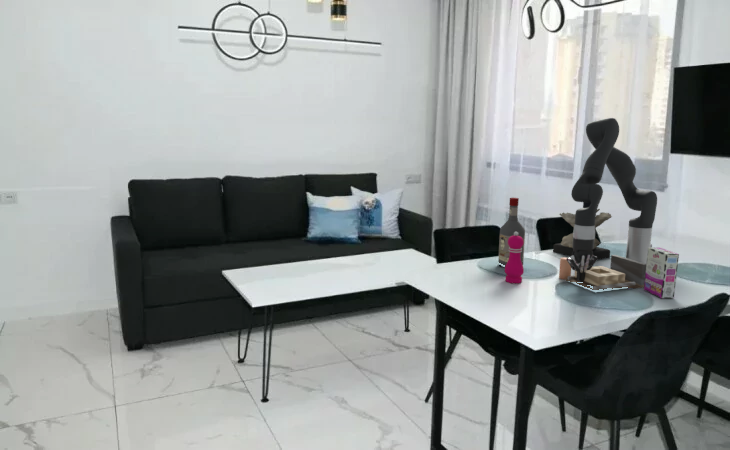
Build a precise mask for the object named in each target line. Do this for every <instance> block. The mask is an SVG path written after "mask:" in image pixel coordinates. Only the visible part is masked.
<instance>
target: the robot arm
mask: <svg viewBox="0 0 730 450" xmlns="http://www.w3.org/2000/svg"><path fill="white" fill-rule="evenodd" d="M585 133H586V136H587V139H588V140H589V142H590V144H591V145H592V147H593V148H594V151H592V152H591V154H590V155H589V156H588V157H587V159H586V160H585V162H584V166H583V169H582V173H581V174H580V176H579V178H578V179H577V180H576V182H575V183H574V185H573V186H572V189H571V198H572V200H573V201H574V202H577V203H583V202H586V203H591V205H590V207H588V208H583V207H580V208H581V209H580V208H578V209H576V211H575V213H574V214H575V226H574V228H573V232H572V233H573V245H572V247H573V253H572V256H569V257H566V258H567V262H568V263H569V265H570V266H571V270H573V271H574V272H575V271H577V277H576V279H577V281H579V282H584V280H585V273H586V271H587V270H590V269H591V268H592V267H594V264H595V263H596V262H597V261H598V260H597V259H598V257H596V256H594V255H593V251H592V250H593V249H594V240H595V238H596V228H595V218H596V215H597V213H598V212H597V210H598V209H599V205H600V203H601V200H602V198H603V195H604V188H603V187H602V185H600V184H598V183H600V182H601V180H602V179H603V174H604V170H605V167H607V170H608V171H609V172H610V174H611V176H612V177H613V179H614V180H615V182H616V184H617V186H618V188H619V189H620V192H621V194H622V196H623V200H624V201H625V204H626V205H627V207H628V208H629V209H630V210H632V211H638V212H640V215H639V216H638V217H633V218H631V219H629V221H628V228H627V229H628V230H627V240H626V249H625V258H628V259H631V260H635V261H638V262H641V263H645V264H647V255H648V248H653V244H651V243H652V234H653V233H652V232H653V225H654V221H655V220H656V219H655V218H656V212H657V206H658V195H657V193H656V192H655V191H652V190H646V189H640V188H639V189H638V187H637V186H635V183H634V180H635V177H636V174H637V168H636V166H635V163H634V162H633V160H632V158H631V157H630V156H629V155H628V154H627V153H626V152H625V151H622V150H621V149H619V148H617V147H615V144H616V143H617V141H618V138H619V134H620V125H619V122H618V121H617V119H616V118H614V117H606V118H601V119H598V120H593V121H591V122H588V123H587V124H586V126H585ZM596 212H597V213H596ZM589 264H590V265H589ZM583 266H584V267H583ZM579 267H580V269H579Z"/></svg>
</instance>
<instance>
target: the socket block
mask: <svg viewBox="0 0 730 450" xmlns="http://www.w3.org/2000/svg"><path fill="white" fill-rule="evenodd" d="M579 269H580V268H579ZM573 276H574V279H575V280H577V279H576V277H577V271H575V270H574V275H573ZM583 283H586V284H588V285H591V286H600V285H609V284H618V283H625V274H624V273H621V272H618V271H615V270H612V269H610V267H605V266H604V265H602V266H601V265H597V266H592V268H591V269H590V270H587V271H586V273H585V280H584V282H583Z"/></svg>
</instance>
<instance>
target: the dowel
mask: <svg viewBox="0 0 730 450" xmlns="http://www.w3.org/2000/svg"><path fill="white" fill-rule="evenodd" d="M567 258H568V257H560V260H559V270H558V271H559V273H558V274H559V275H558V279H560V280H565V281H566V279H568V276H572V268H571V266H570V265H569V263H568V262H567Z"/></svg>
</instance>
